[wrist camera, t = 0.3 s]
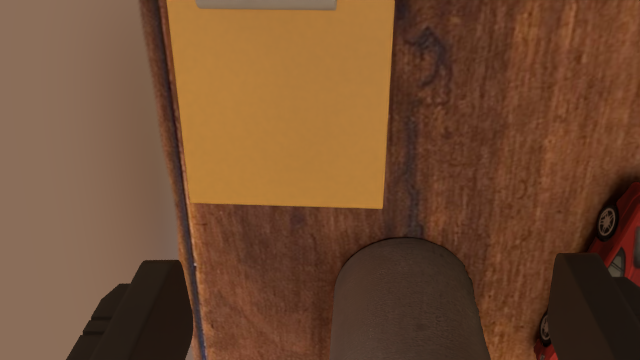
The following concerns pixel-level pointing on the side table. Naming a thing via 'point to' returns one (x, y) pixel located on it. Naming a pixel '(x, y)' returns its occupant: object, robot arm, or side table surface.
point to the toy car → (609, 251)
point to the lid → (284, 99)
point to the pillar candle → (405, 305)
